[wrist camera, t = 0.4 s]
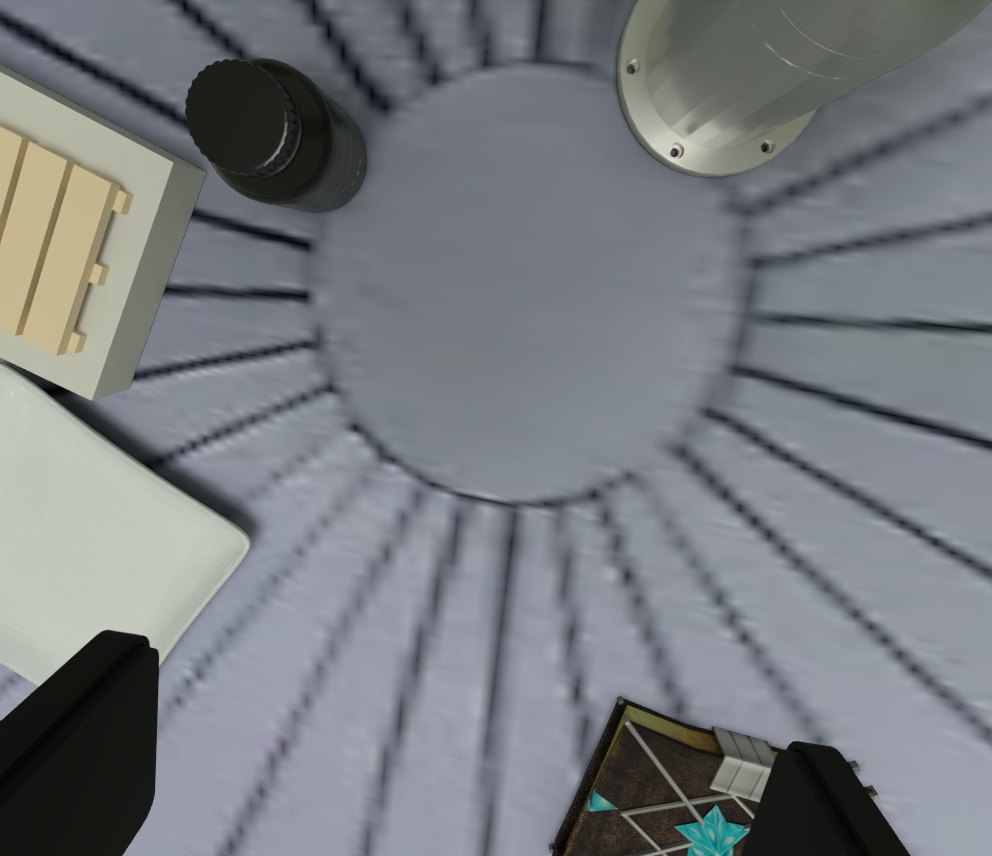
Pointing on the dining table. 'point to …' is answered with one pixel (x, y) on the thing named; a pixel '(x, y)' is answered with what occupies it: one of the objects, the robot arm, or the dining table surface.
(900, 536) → the dining table surface
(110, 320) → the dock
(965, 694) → the dining table surface
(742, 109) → the robot arm
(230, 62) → the supplement bottle
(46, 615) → the salad plate
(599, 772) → the book
